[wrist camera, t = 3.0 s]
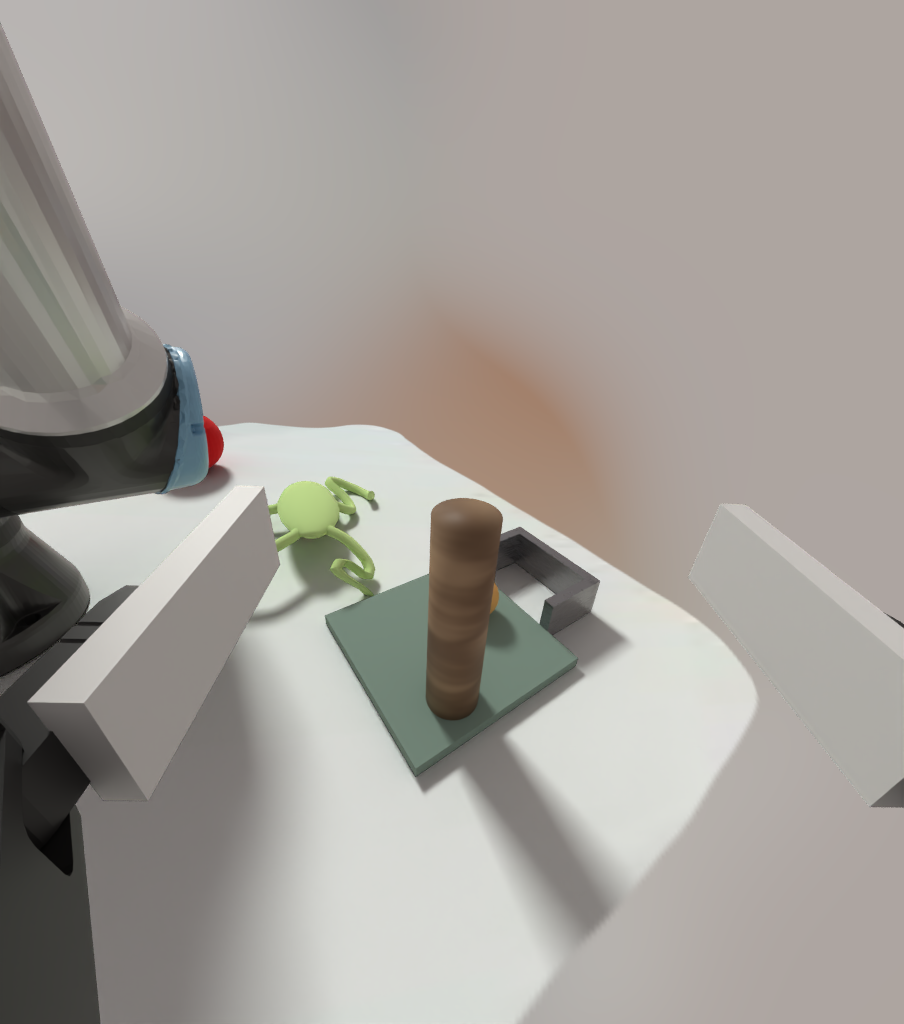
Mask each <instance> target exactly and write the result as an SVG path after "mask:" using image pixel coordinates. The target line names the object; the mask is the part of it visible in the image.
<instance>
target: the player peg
mask: <svg viewBox="0 0 904 1024" xmlns="http://www.w3.org/2000/svg"><path fill="white" fill-rule="evenodd" d="M502 522H503V517H502V514H501V513H500V511H499V510H498V509H497V508H495V507H494V506H492V505H491V504H489V503H486V502H484V501H480V500H476V499H469V498H457V499H450V500H446V501H443V502H441V503H439V504H438V505H436V506H435V507H434V508H433V510H432V512H431V535H430V568H429V601H428V634H427V667H426V702H427V705H428V707H429V708H430V710H431V711H432V712H433V713H434V714H435V715H437V716H438V717H440V718H442V719H445V720H460V719H463V718H466V717H467V716H469V715H470V714H471V713H472V712H473V711H474V710H475V708H476V706H477V703H478V698H479V690H480V683H481V676H482V668H483V661H484V654H485V646H486V639H487V632H488V624H489V617H490V610H491V602H492V595H493V588H494V580H495V573H496V566H497V559H498V551H499V544H500V537H501V529H502Z"/></svg>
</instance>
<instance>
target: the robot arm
mask: <svg viewBox="0 0 904 1024" xmlns="http://www.w3.org/2000/svg"><path fill="white" fill-rule="evenodd" d="M203 425H204V420H203V411H202V404H201V399H200V393H199V389H198V384H197V379H196V375H195V371H194V367H193V364H192V361H191V358H190V356H189V354H188V353H187V352H186V351H185V350H183V349H182V348H179V347H172V346H170V345H167V344H162V343H161V341H160V339H159V337H158V336H157V334H156V333H155V331H154V330H153V329H152V328H151V327H150V326H149V325H148V324H147V323H146V322H145V321H143V320H142V319H141V318H140V317H138V316H137V315H135V314H134V313H132V312H130V311H129V310H127V309H125V308H123V307H121V306H120V304H119V302H118V299H117V297H116V295H115V292H114V290H113V287H112V285H111V283H110V280H109V278H108V276H107V273H106V271H105V268H104V266H103V264H102V262H101V259H100V257H99V254H98V252H97V250H96V247H95V245H94V243H93V240H92V238H91V235H90V233H89V231H88V228H87V226H86V224H85V221H84V219H83V217H82V215H81V212H80V210H79V207H78V205H77V202H76V200H75V198H74V195H73V193H72V191H71V188H70V186H69V183H68V181H67V179H66V176H65V174H64V172H63V169H62V167H61V165H60V162H59V160H58V158H57V155H56V153H55V151H54V148H53V146H52V143H51V141H50V139H49V136H48V134H47V132H46V129H45V127H44V124H43V122H42V120H41V117H40V115H39V113H38V110H37V108H36V106H35V103H34V101H33V99H32V96H31V94H30V92H29V89H28V87H27V84H26V82H25V80H24V77H23V75H22V73H21V70H20V68H19V66H18V63H17V61H16V58H15V56H14V54H13V51H12V49H11V47H10V44H9V42H8V39H7V37H6V35H5V32H4V30H3V28H2V26H1V23H0V676H1V675H3V674H5V673H7V672H9V671H11V670H13V669H15V668H17V667H19V666H20V665H22V664H24V663H26V662H27V661H29V660H30V659H32V658H34V657H35V656H37V655H38V654H40V653H41V652H43V651H44V650H46V649H47V648H48V647H50V646H51V645H52V644H54V643H55V642H56V641H58V640H59V639H60V638H61V637H62V636H63V637H62V638H61V641H60V643H55V644H54V645H53V646H52V647H51V648H50V649H49V650H48V651H47V652H46V653H45V654H44V655H43V656H42V657H41V658H40V659H39V660H38V661H37V662H36V663H35V664H34V665H33V666H32V667H30V668H29V669H28V670H27V671H26V672H25V673H24V674H23V675H22V676H21V677H20V678H19V679H18V680H17V681H16V682H15V683H14V684H13V685H12V686H11V687H10V688H9V689H8V690H7V691H5V692H4V693H3V694H2V695H1V696H0V1024H100V1015H99V1004H98V994H97V983H96V973H95V962H94V951H93V941H92V930H91V920H90V909H89V899H88V888H87V878H86V867H85V857H84V846H83V835H82V825H81V816H80V813H79V811H78V809H77V807H76V805H75V804H76V802H77V801H78V799H79V798H80V796H81V795H82V794H83V792H84V791H85V789H86V788H87V786H88V785H89V783H90V784H91V786H92V787H93V788H94V790H95V791H96V792H97V793H98V795H99V796H100V797H101V799H102V800H103V801H149V799H150V797H151V795H152V794H153V792H154V790H155V788H156V786H157V785H158V783H159V781H160V779H161V777H162V776H163V774H164V772H165V770H166V768H167V767H168V765H169V763H170V761H171V760H172V758H173V756H174V754H175V752H176V751H177V749H178V747H179V745H180V743H181V742H182V740H183V738H184V736H185V734H186V733H187V731H188V729H189V727H190V725H191V724H192V722H193V720H194V718H195V716H196V715H197V713H198V711H199V709H200V707H201V706H202V704H203V702H204V700H205V699H206V697H207V695H208V693H209V691H210V690H211V688H212V686H213V684H214V682H215V681H216V679H217V677H218V675H219V673H220V672H221V670H222V668H223V666H224V664H225V663H226V661H227V659H228V657H229V655H230V654H231V652H232V650H233V648H234V646H235V645H236V643H237V641H238V639H239V638H240V636H241V634H242V632H243V630H244V629H245V627H246V625H247V623H248V621H249V620H250V618H251V616H252V614H253V612H254V611H255V609H256V607H257V605H258V603H259V602H260V600H261V598H262V596H263V594H264V593H265V591H266V589H267V587H268V586H269V584H270V582H271V580H272V578H273V577H274V575H275V573H276V571H277V569H278V568H279V566H280V562H279V557H278V552H277V547H276V542H275V538H274V533H273V528H272V523H271V518H270V513H269V508H268V504H267V499H266V494H265V489H264V487H263V486H235V487H234V488H233V489H232V490H231V491H230V492H229V493H228V494H227V495H226V496H225V497H224V499H223V500H222V501H221V502H220V503H219V504H218V505H217V506H216V507H215V508H214V509H213V510H212V511H211V512H210V513H209V514H208V515H207V516H206V517H205V518H204V519H203V520H202V521H201V522H200V523H199V524H198V525H197V527H196V528H195V529H194V530H193V531H192V532H191V533H190V534H189V535H188V536H187V537H186V538H185V539H184V540H183V541H182V542H181V543H180V544H179V545H178V546H177V547H176V548H175V549H174V550H173V551H172V552H171V553H170V554H169V556H168V557H167V558H166V559H165V560H164V561H163V562H162V563H161V564H160V565H159V566H158V567H157V568H156V569H155V570H154V571H153V572H152V573H151V574H150V575H149V576H148V577H147V578H146V579H145V580H144V581H143V582H142V584H141V585H140V586H128V585H126V586H124V587H123V588H121V589H119V590H118V591H116V592H114V593H113V594H111V595H109V596H108V597H106V598H104V599H103V600H101V601H99V602H98V603H97V604H96V605H95V606H94V607H93V608H92V609H91V610H90V611H89V612H88V613H87V614H86V615H85V616H84V617H82V618H81V619H80V617H81V616H82V614H83V613H84V611H85V609H86V607H87V605H88V602H89V597H90V595H89V589H88V587H87V585H86V583H85V581H84V579H83V577H82V576H81V574H80V572H79V570H78V569H77V568H76V567H75V566H74V565H73V564H72V563H71V562H69V561H68V560H67V559H66V558H64V557H63V556H62V555H60V554H59V553H58V552H57V551H55V550H54V549H53V548H51V547H50V546H49V545H48V544H46V543H45V542H44V541H43V540H41V539H40V538H39V537H37V536H36V535H35V534H34V533H32V532H31V531H30V530H28V529H27V528H26V527H25V526H24V524H23V523H22V521H21V519H20V518H19V516H18V515H20V514H26V513H32V512H38V511H44V510H51V509H57V508H63V507H69V506H75V505H82V504H88V503H94V502H100V501H106V500H113V499H119V498H125V497H131V496H137V495H144V494H151V493H155V494H164V493H167V492H169V491H170V490H173V489H178V488H183V487H187V486H192V485H195V484H198V483H200V482H201V481H202V480H203V479H204V478H205V477H206V475H207V472H208V467H209V458H208V446H207V438H206V432H205V428H204V426H203ZM688 578H689V579H690V580H691V582H692V583H693V584H694V585H695V587H696V588H697V589H698V590H699V592H700V593H701V594H702V596H703V597H704V598H705V599H706V601H707V602H708V603H709V604H710V606H711V607H712V608H713V609H714V611H715V612H716V613H717V615H718V616H719V617H720V618H721V620H722V621H723V622H724V623H725V625H726V626H727V627H728V629H729V630H730V631H731V632H732V633H733V635H734V636H735V637H736V639H737V640H738V641H739V642H740V644H741V645H742V646H743V648H744V649H745V650H746V651H747V653H748V654H749V655H750V656H751V658H752V659H753V660H754V661H755V663H756V664H757V665H758V667H759V668H760V669H761V670H762V672H763V673H764V674H765V676H766V677H767V678H768V679H769V681H770V682H771V683H772V684H773V685H774V687H775V688H776V689H777V691H778V692H779V693H780V695H781V696H782V697H783V698H784V699H785V701H786V702H787V703H788V705H789V706H790V707H791V708H792V710H793V711H794V712H795V713H796V715H797V716H798V717H799V719H800V720H801V721H802V722H803V724H804V725H805V726H806V727H807V729H808V730H809V731H810V733H811V734H812V735H813V736H814V737H815V739H816V740H817V741H818V742H819V744H820V745H821V746H822V748H823V749H824V750H825V752H826V753H827V754H828V755H829V756H830V758H831V759H832V760H833V762H834V763H835V764H836V765H837V767H838V768H839V769H840V770H841V772H842V773H843V774H844V776H845V777H846V778H847V779H848V781H849V782H850V783H851V784H852V785H853V787H854V788H855V790H856V791H857V792H858V793H859V795H860V796H861V797H862V799H863V800H864V801H865V802H866V804H867V805H868V806H869V807H904V624H903V623H901V622H900V621H898V620H896V619H894V618H893V617H891V616H889V615H887V614H886V613H884V612H882V611H881V610H880V609H878V608H877V607H876V606H874V605H873V604H872V603H871V602H869V601H868V600H867V599H865V598H864V597H863V596H862V595H861V594H859V593H858V592H857V591H855V590H854V589H853V588H852V587H850V586H849V585H848V584H846V583H845V582H844V581H842V580H841V579H840V578H839V577H838V576H836V575H835V574H834V573H832V572H831V571H830V570H829V569H827V568H826V567H825V566H823V565H822V564H821V563H820V562H818V561H817V560H816V559H815V558H813V557H812V556H811V555H809V554H808V553H807V552H805V551H804V550H803V549H802V548H800V547H799V546H798V545H797V544H795V543H794V542H793V541H791V540H790V539H789V538H788V537H786V536H785V535H784V534H783V533H781V532H780V531H779V530H778V529H776V528H775V527H774V526H772V525H771V524H770V523H769V522H767V521H766V520H765V519H763V518H762V517H761V516H760V515H758V514H757V513H756V512H755V511H753V510H752V509H751V508H749V507H748V506H747V505H738V504H720V506H719V508H718V511H717V513H716V515H715V518H714V520H713V522H712V524H711V526H710V529H709V531H708V533H707V535H706V538H705V540H704V542H703V544H702V547H701V549H700V551H699V553H698V556H697V558H696V560H695V562H694V565H693V567H692V569H691V572H690V574H689V576H688ZM79 619H80V620H79ZM78 620H79V621H78ZM77 621H78V625H77V626H74V625H75V624H76V622H77Z"/></svg>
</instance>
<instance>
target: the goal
mask: <svg viewBox="0 0 904 1024" xmlns="http://www.w3.org/2000/svg"><path fill="white" fill-rule="evenodd" d="M512 563H517V564H518V565H519V566H521V567H522V568H523V569H524V570H526V571H527V572H528V573H530V574H531V575H532V576H534V577H535V578H536V579H537V580H539V581H540V582H541V583H543V584H544V585H545V586H547V587H548V588H549V589H550V590H552V591H553V592H554V593H556V595H554V596H552V597H550V598H548V599H546V600H545V603H544V607H543V611H542V616H541V620H540V625H541V626H542V627H543V628H544V629H545V630H546V631H548V632H549V633H550V634H551V635H553V634H555V633H557V632H558V631H560V630H562V629H563V628H565V627H566V626H568V625H570V624H571V623H573V622H575V621H576V620H578V619H580V618H581V617H583V616H585V615H586V614H588V613H590V612H591V609H592V606H593V603H594V600H595V596H596V593H597V590H598V587H599V583H600V580H598V579H597V578H595V577H594V576H592V575H591V574H589V573H588V572H586V571H585V570H583V569H582V568H580V567H579V566H577V565H576V564H574V563H573V562H571V561H570V560H569V559H567V558H566V557H564V556H563V555H561V554H560V553H558V552H557V551H555V550H554V549H552V548H551V547H549V546H548V545H546V544H545V543H543V542H542V541H540V540H539V539H537V538H536V537H535V536H533V535H532V534H530V533H529V532H527V531H526V530H524V529H523V528H521V527H518V528H516V529H513V530H511V531H508V532H505V533H503V534H501V537H500V544H499V551H498V559H497V566H496V571H497V570H499V569H501V568H503V567H506V566H508V565H510V564H512Z"/></svg>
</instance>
